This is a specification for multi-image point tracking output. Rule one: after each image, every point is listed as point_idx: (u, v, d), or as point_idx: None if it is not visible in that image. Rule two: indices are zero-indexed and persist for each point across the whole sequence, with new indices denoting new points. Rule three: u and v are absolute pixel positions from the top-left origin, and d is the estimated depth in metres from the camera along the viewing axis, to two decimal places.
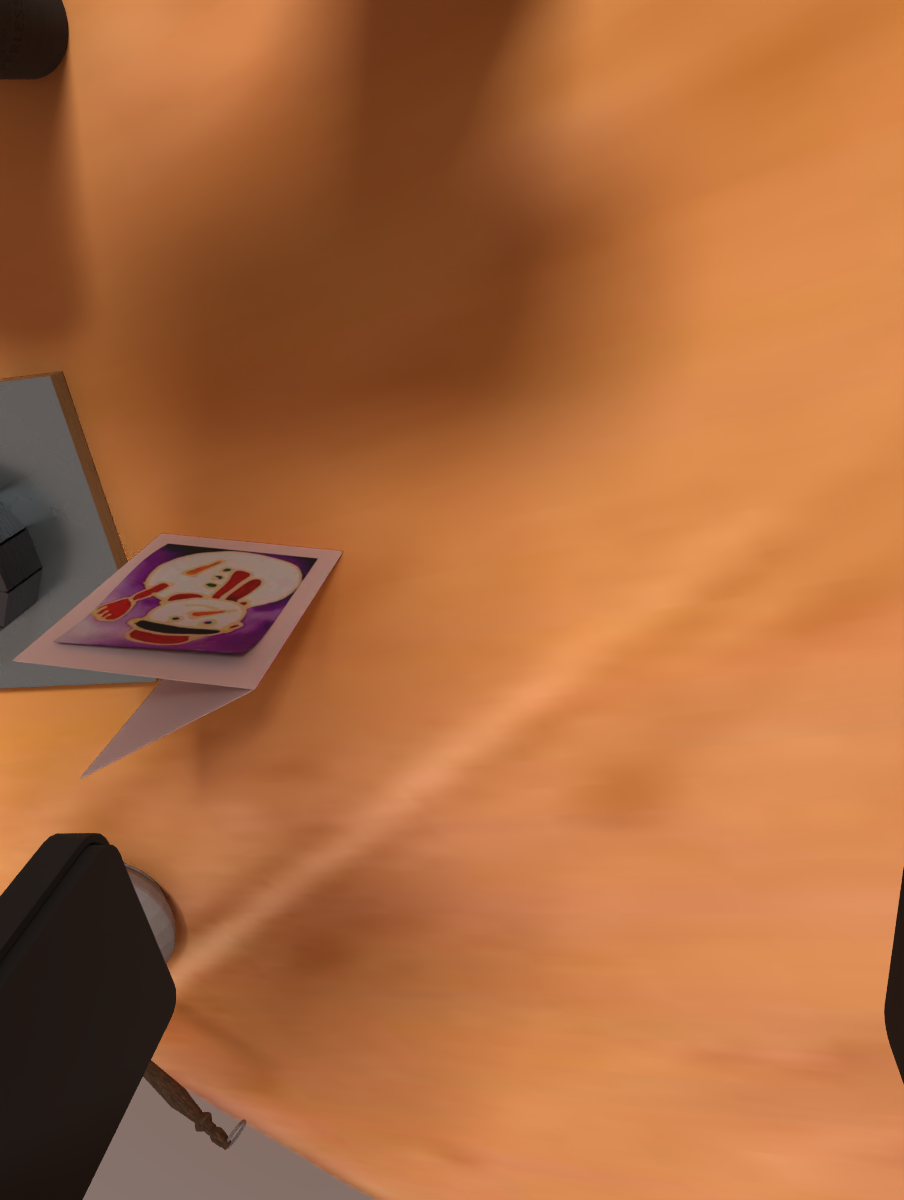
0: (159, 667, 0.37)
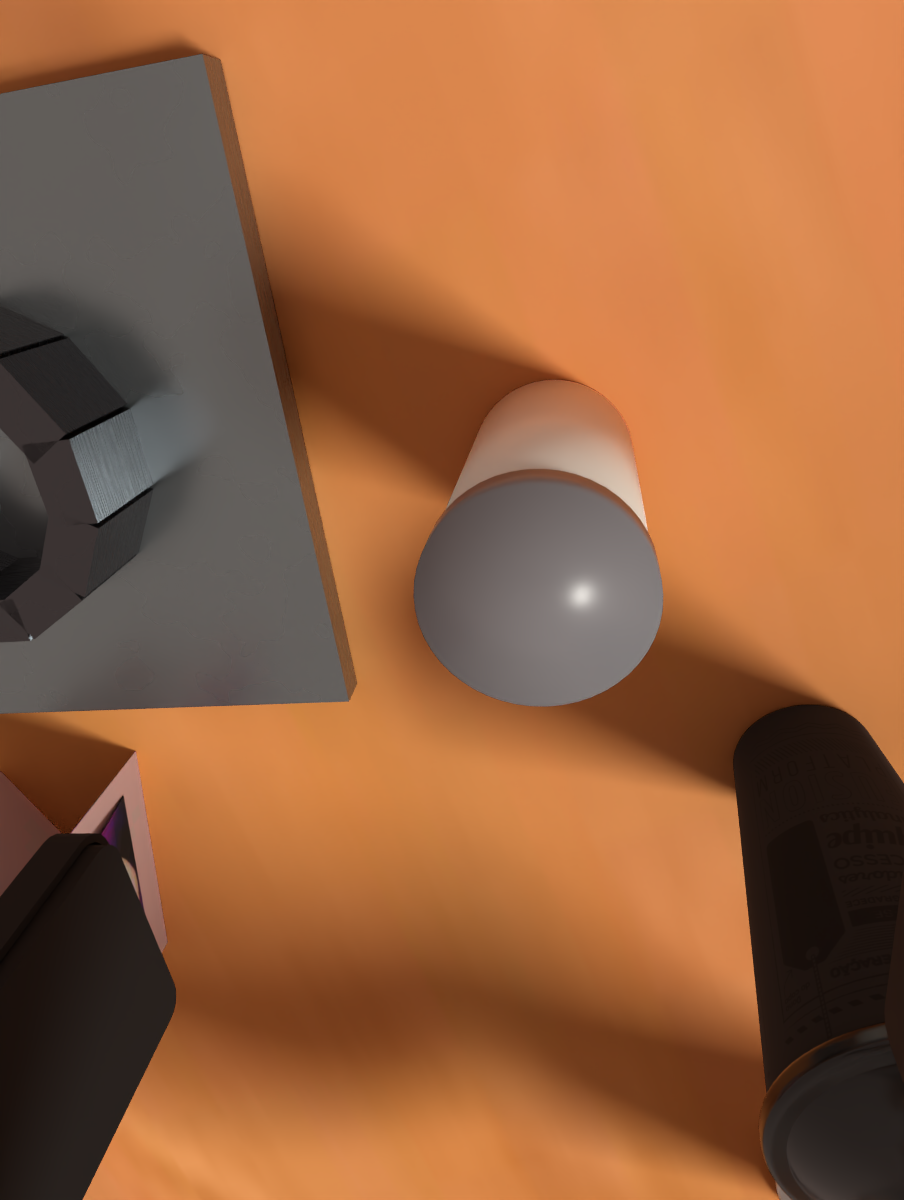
0: None
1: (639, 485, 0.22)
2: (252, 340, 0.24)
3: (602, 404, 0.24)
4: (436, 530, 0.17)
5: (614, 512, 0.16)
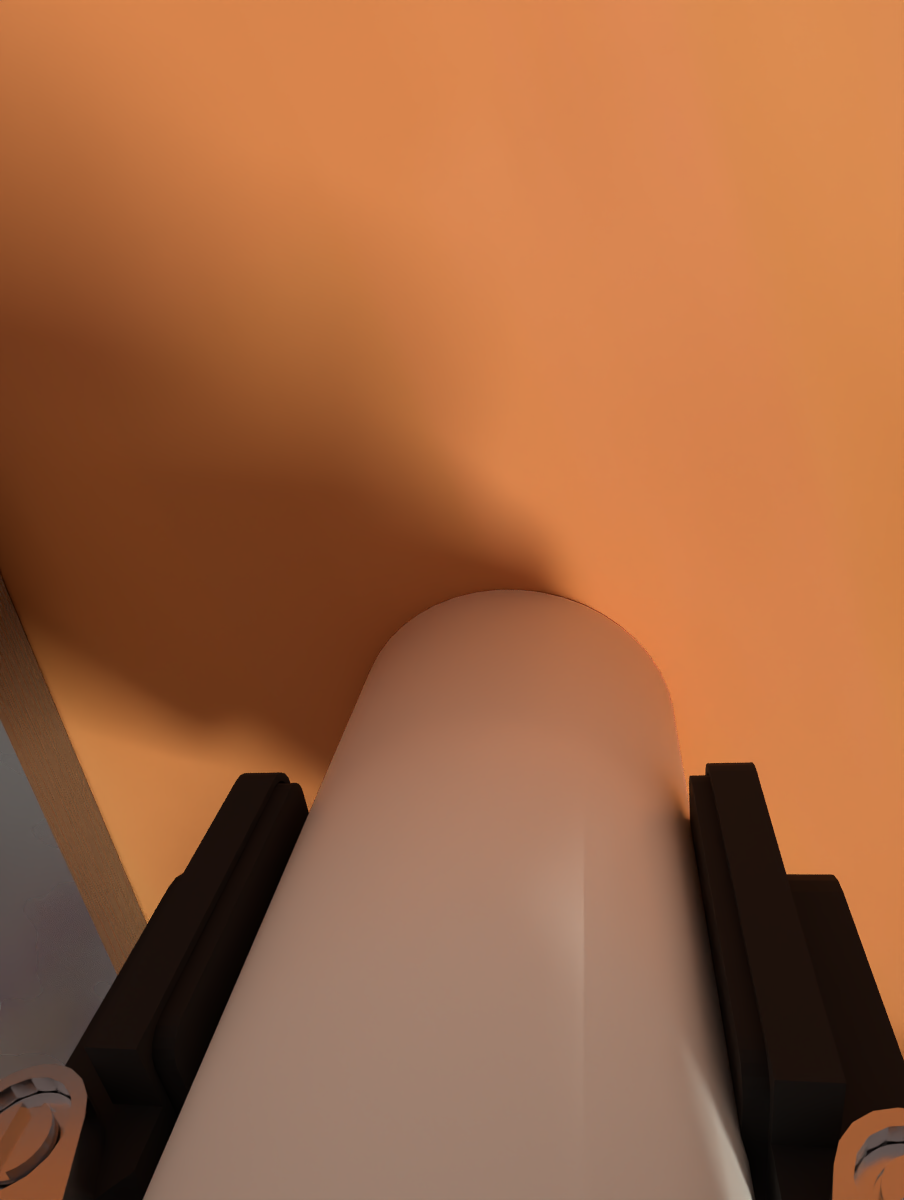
0: None
1: None
2: None
3: (614, 663, 0.11)
4: None
5: None
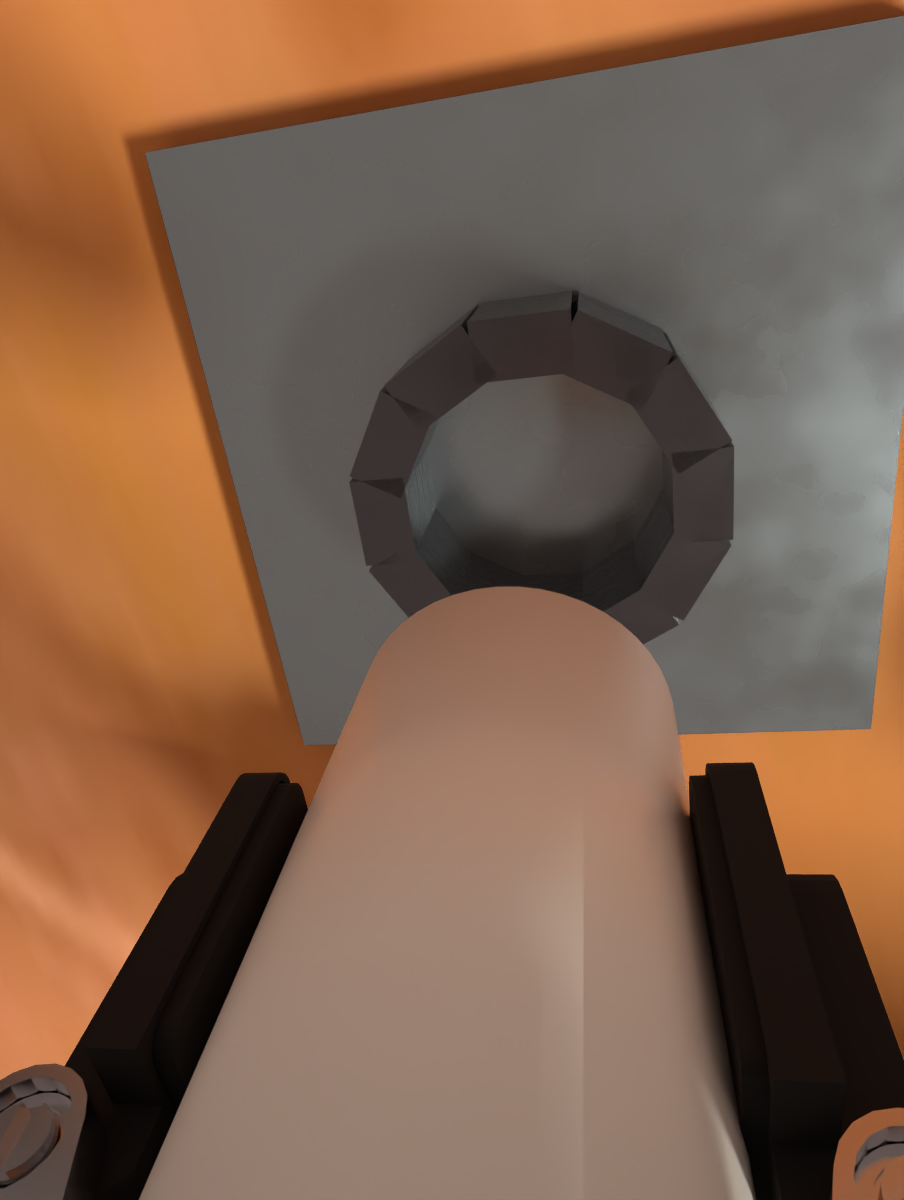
0: None
1: None
2: (892, 334, 0.22)
3: (614, 659, 0.11)
4: None
5: None
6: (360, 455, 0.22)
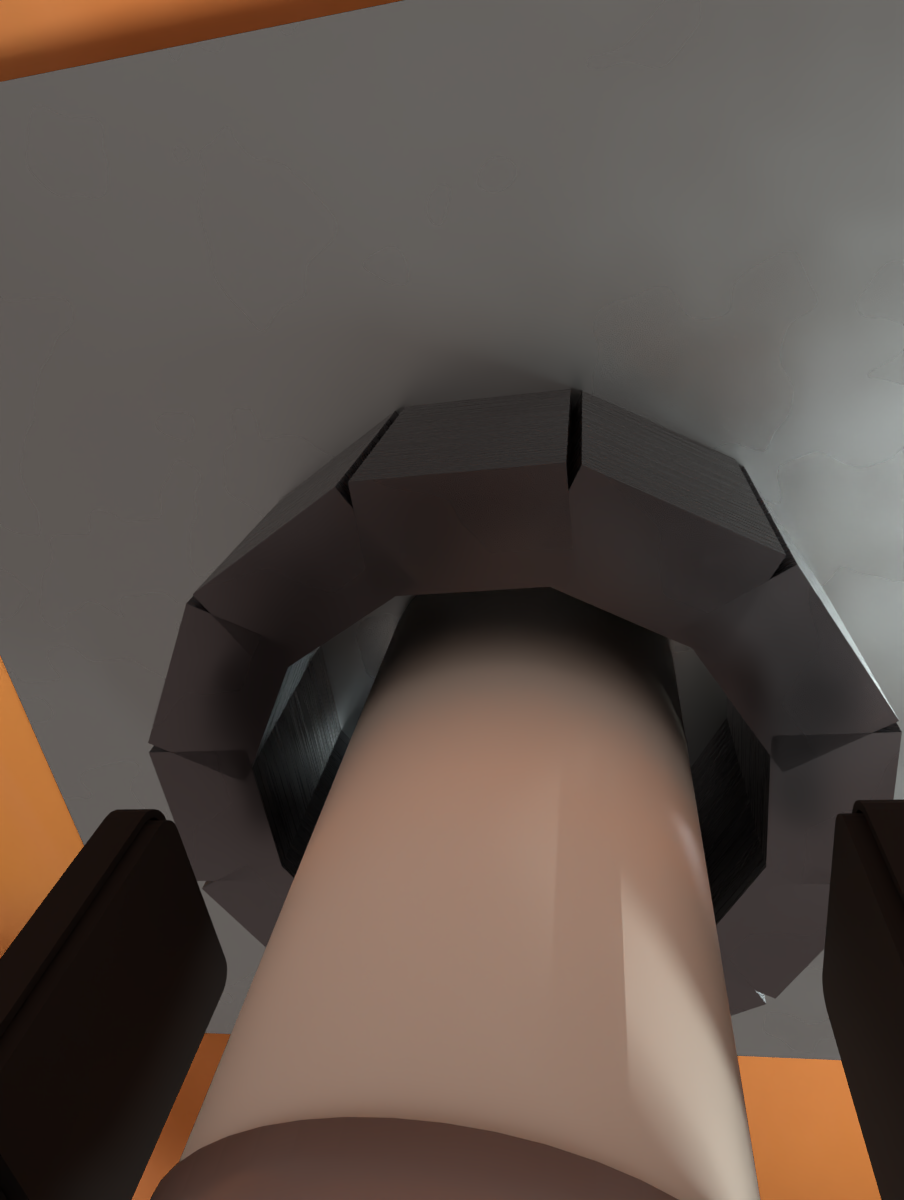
0: None
1: (702, 844, 0.10)
2: None
3: (617, 616, 0.12)
4: None
5: None
6: (163, 710, 0.11)
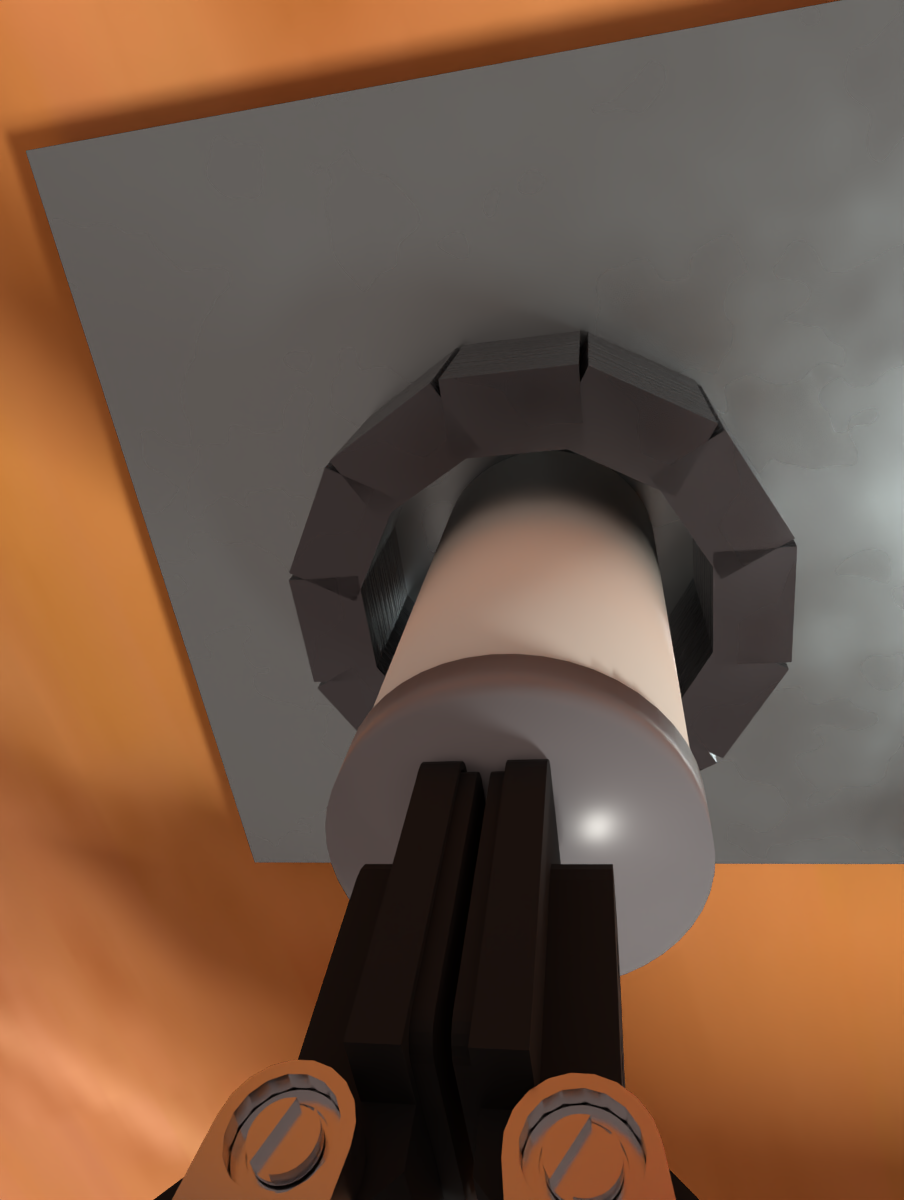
0: None
1: (666, 613, 0.15)
2: None
3: (610, 486, 0.18)
4: (351, 758, 0.11)
5: (632, 738, 0.10)
6: (302, 547, 0.17)
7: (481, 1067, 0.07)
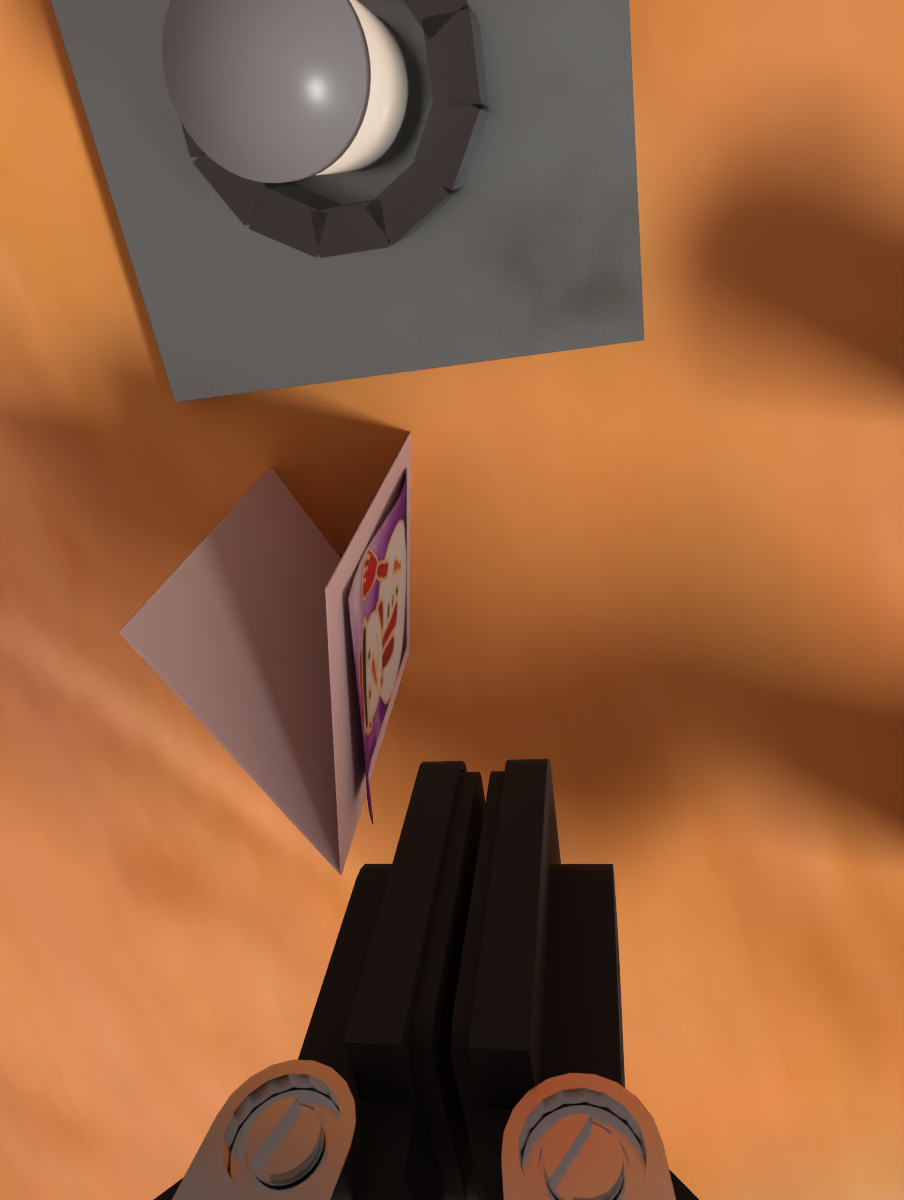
0: (341, 754, 0.27)
1: (391, 49, 0.25)
2: None
3: None
4: (170, 2, 0.20)
5: None
6: None
7: (481, 1066, 0.07)
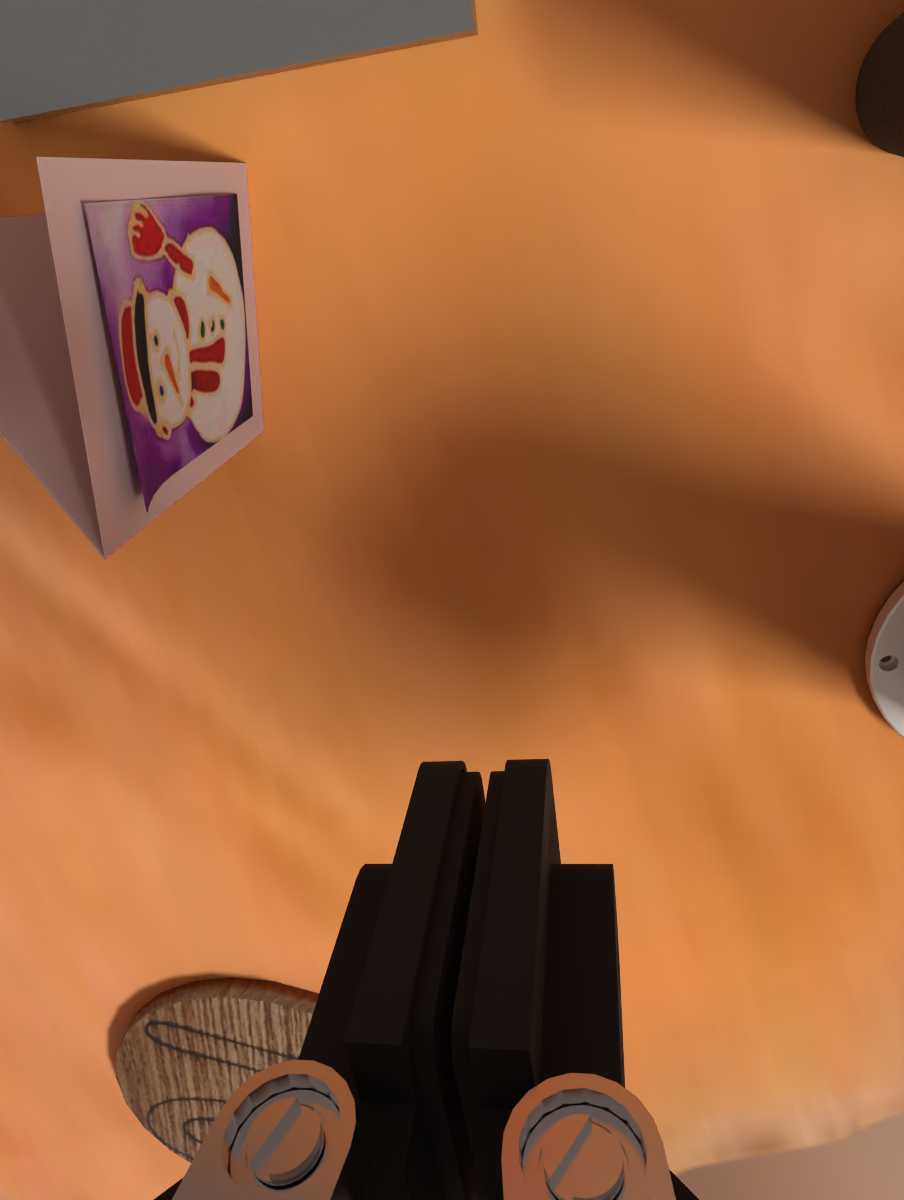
0: (94, 405, 0.25)
1: None
2: None
3: None
4: None
5: None
6: None
7: (481, 1067, 0.07)
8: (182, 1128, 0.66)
